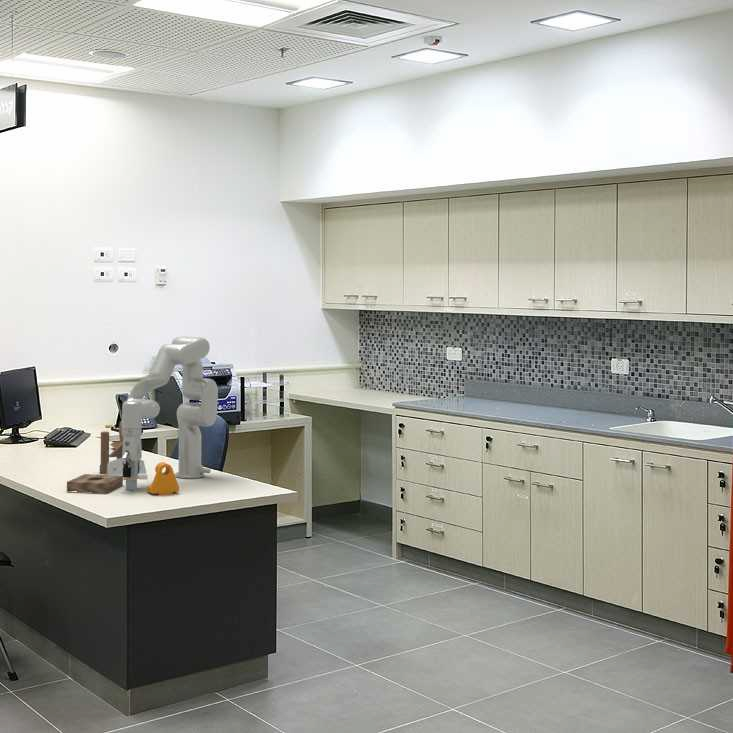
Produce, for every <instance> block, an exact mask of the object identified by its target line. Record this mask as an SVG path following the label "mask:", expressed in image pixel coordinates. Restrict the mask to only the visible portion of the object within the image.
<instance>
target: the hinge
mask: <svg viewBox="0 0 733 733" xmlns="http://www.w3.org/2000/svg"><path fill="white" fill-rule="evenodd" d="M139 461H140V463H139V473H138V479H144V480H148V479H149V478H148V474H147V468H146V465H145V461H144V460H142V459H140V460H139ZM122 462H123V459H122V458H120V459H117V458H116V459H112V460H109V463H108V464H107V474H106V475H116V476H123V463H122ZM124 479H125V477H123V480H124Z"/></svg>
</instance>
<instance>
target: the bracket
mask: <svg viewBox="0 0 733 733" xmlns="http://www.w3.org/2000/svg"><path fill="white" fill-rule="evenodd" d="M164 468H165V470H164ZM154 470H155V475H154V477H153V480H152V483H151V485H147V486H146V492H148V493H150V494H152V495H153V494H156V495H158V496H164V495H165V496H166V495H173V493H177V492H179V491H180V486H179V483H178V480H177V477H175V472H174V469H173V467H172V466H171V465H170V464H168V463H166V462H158V463H157V464H156V466H155V468H154ZM163 470H164V472H163Z"/></svg>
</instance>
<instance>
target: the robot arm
mask: <svg viewBox="0 0 733 733" xmlns="http://www.w3.org/2000/svg"><path fill="white" fill-rule="evenodd" d="M210 349H211V348H210V343H209V341H208V340H207V339H206V338H204V337H196V336H177V337H174V338H173V340H172V341H171V343H165V344H163V345H161V346H160V348H159V350H158V352H157V355H156V356H155V359H154V360H153V361H154V362H153V363H152V365H151V367H150V369H149V372H148V374H147V375H146V376H144V377H143V378H142V379H140V380H139V381H138V382H137V383H136V384H135V385H134V386H133V387H132V388H131V390H130V392H129V394H128V396H127V399H126V400H125V401H123V403H122V407H121V408H122V410H121V412H122V414H121V417H122V418H121V419H122V436H124V438H123V451H122V459H123V462H122V463H123V477H129V478H130V477H131V467H130V466H131V462H132V461H133V462H135V461H138V473H139V463H140V461H139V460H142V457H143V456H142V450H143V448H142V428H143V426H142V424H143V423H142V421H143V419H154V418H156V417H157V416H158V415H159V413H160V411H161V406H160V404H159V402H157V401H155V400H154V399H145V398H144V397H145V396H146V395H147V394H148V393H149V392H152V391H153V390H155V389H157V388H160V387H163V386H165V385H167V384H168V383H169V381H170V379H171V377H172V375H173V371H174V369H175V367H176V366H178V365H179V366H182V376H181V394H182V397H184V399H187V400H195V401H200V403H199V402H183V403H181V404H180V405H179V406H178V408H177V409H176V418H177V419H176V420H177V423H178V471H177V472H174V474H175V477H176V478H178V477H179V479H200V477H201V478H203V477H205V475H206V474H211V472H212V470H211V468H209V467H208V468H207V467H204V465H203V464H202V432H201V430H200V427H211V426H213V425H214V424H215V422H216V420H217V415H218V403H219V402H218V399H219V394H218V393H219V390H218V385H217V383H216V381H215V380H214V379H212V378H208V377H207V378H206V377H203V376H204V374H203V373H204V370H203V369H204V367H203V362H202V359H205V357H207V355H208V354H209V352H210ZM128 462H129V464H128Z"/></svg>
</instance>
